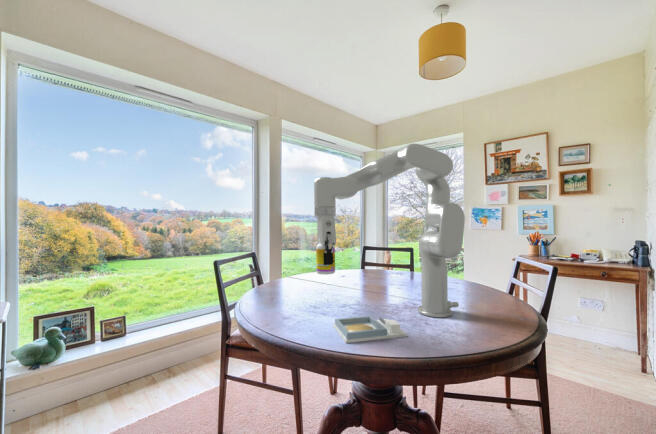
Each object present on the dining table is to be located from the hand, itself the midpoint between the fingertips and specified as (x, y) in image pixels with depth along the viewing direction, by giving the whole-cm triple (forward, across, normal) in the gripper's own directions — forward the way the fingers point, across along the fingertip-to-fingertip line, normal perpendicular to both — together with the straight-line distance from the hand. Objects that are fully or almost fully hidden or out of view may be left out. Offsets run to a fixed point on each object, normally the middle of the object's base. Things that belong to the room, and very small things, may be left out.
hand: (325, 262), depth 103 cm
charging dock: (+21, -11, -11) cm, 26 cm away
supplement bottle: (+4, 0, 0) cm, 4 cm away
